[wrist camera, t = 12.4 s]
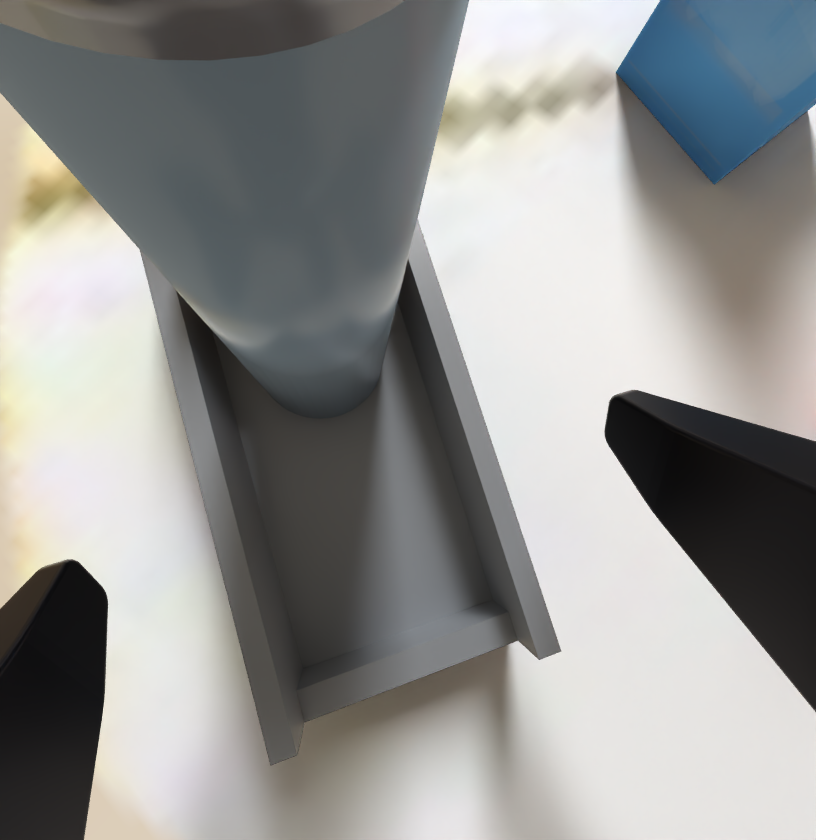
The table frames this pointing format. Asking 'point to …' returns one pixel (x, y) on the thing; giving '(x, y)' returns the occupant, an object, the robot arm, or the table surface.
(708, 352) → the table surface
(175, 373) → the lane
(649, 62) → the perfume bottle
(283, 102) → the jar
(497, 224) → the table surface
